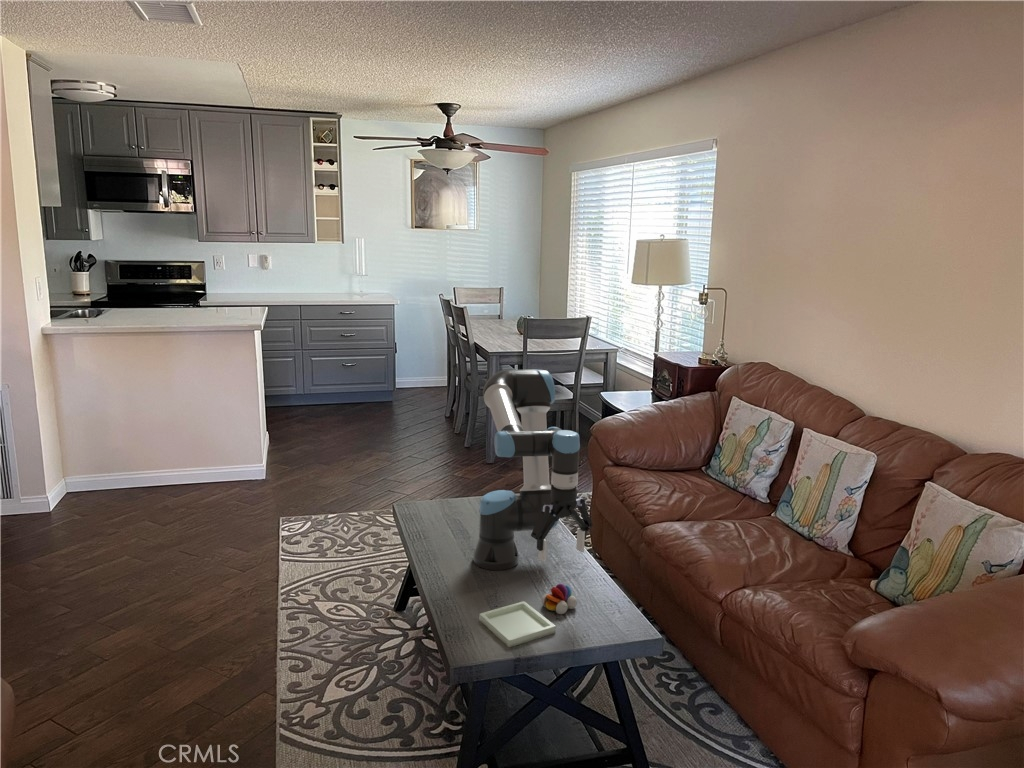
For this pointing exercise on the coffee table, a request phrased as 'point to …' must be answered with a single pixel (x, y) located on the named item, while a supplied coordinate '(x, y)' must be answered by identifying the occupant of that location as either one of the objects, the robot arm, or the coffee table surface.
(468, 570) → the coffee table surface
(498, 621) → the tray
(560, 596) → the rainbow lobed toy
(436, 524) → the coffee table surface
